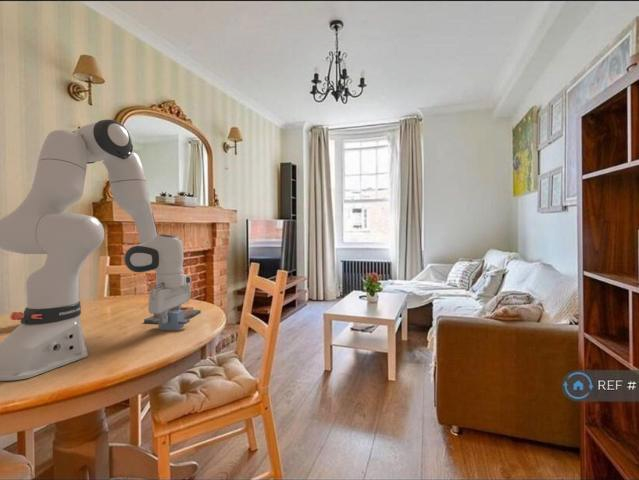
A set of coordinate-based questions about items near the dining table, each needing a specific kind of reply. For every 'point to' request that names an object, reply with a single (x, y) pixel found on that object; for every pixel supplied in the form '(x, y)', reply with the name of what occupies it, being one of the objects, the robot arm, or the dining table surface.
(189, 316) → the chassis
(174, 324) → the block
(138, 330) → the dining table surface
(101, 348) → the dining table surface
